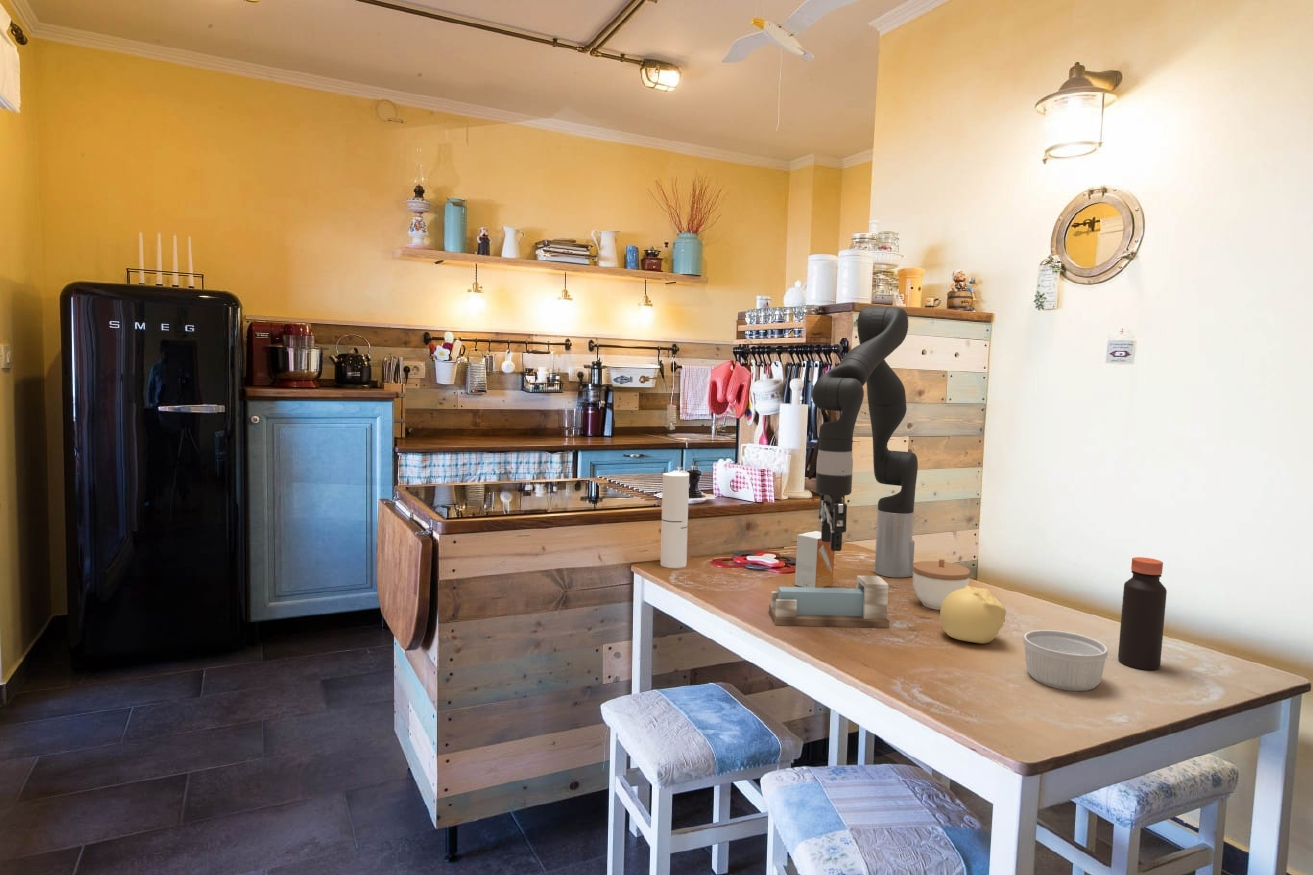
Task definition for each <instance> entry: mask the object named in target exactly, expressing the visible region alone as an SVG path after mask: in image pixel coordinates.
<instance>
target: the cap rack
mask: <svg viewBox="0 0 1313 875" xmlns="http://www.w3.org/2000/svg"><path fill="white" fill-rule="evenodd" d="M889 586H890V585H889V583H887V582H886V581H885V580H884V579H883V578H882V577H881V576H880V575H857V576H856V589H864V606H863V616H831V615H796V613H797V600H792V599H778V590H777V591H776V590H775V591H773V590H772V591H771V597H770V599H771V600H770V604H769V607H768V613H769V615H770V617H771V618H772V621H773V623H774V625H775V626H789V627H790V626H795V627H796V626H798V627H802V626H803V627H832V626H834V627H835V628H836V627H837V628H844V627H845V628H879V629H880V628H882V629H883V628H884V629H889V628H890V620H889V619H888V601H889V600H888V599H889ZM834 627H833V628H834Z"/></svg>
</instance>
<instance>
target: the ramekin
mask: <svg viewBox="0 0 1313 875" xmlns="http://www.w3.org/2000/svg"><path fill="white" fill-rule="evenodd" d="M1022 641H1023V645H1024V654H1025V664H1026V665H1025V666H1026V670H1027V672H1028V674H1029V675H1030V676H1031V678H1033V680H1035V681H1037V682H1039V683H1041V684H1043V685H1045V686H1049V687H1052V688H1055V689H1059V690H1060V689H1061V690H1064V691H1074V692H1086V691H1091V690H1093V689H1095V688H1096V687H1098V686H1099V685H1100V683H1101V681H1102V678H1103V672H1104V667H1105V662H1106V660H1107V658H1108V653H1109V652H1108V647H1107V646H1106V645H1105V644H1104V643H1103V642H1102V641H1099V640H1097V639H1095V638H1092V637H1089V636H1087V635H1083V634H1079V633H1074V632H1069V631H1063V630H1056V629H1037V630H1035V629H1034V630H1030V631H1028V632H1026V633H1024V635H1023V640H1022Z"/></svg>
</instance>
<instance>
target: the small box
mask: <svg viewBox="0 0 1313 875" xmlns="http://www.w3.org/2000/svg"><path fill="white" fill-rule="evenodd" d="M835 552H836V551H832V550H831V549H830V542H823V541H822V540H821V531H819V530H814V531H809V532H804V533H799V534H797V535H796V552H795V553H796V556H795V574H794V575H795V576H794V585H795V586H796V587H809V588H828V587H829V586H833V584H834V571H835V570H834V568H835Z"/></svg>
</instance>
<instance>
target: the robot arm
mask: <svg viewBox="0 0 1313 875" xmlns="http://www.w3.org/2000/svg"><path fill="white" fill-rule="evenodd" d="M857 316H858V317H857V328H856V329H857V336H858V343H859V345H856V346H854V347H853V348H851V349H850V350H849V351H848V352H846V355H844V357H843V358H842V359H841V361H840V362H839V364H838V365H837V366H834V367H833V368H831V369H830V370H828V371H827V372H825V373H823V374H822V375H821V376H820V377H819V378H818V379H817V380H815V383H814V385H813V387H812V391H811V399H812V402H813V404H814V405H815V407H816V408H818V409H819V410H822V411H829V412H830V411H831V412H832V411H833V412H841V414H840V416H839V418H838V419H837V420H835V421H834V420H833V421H827V422H824V423H822V424H821V425H820V426H819V432H818V451H817V457H816V470H815V471H816V473H815V474H816V475H815V492H816V493H817V494H819V508H818V509H819V510H818V519H819V522H820V524H821V530H820V532H821V540H822V541H823V542H830V549H831V550H832V551H835V552H840V551H842V546H843V544H842V543H843V534H844V533H846V532H847V515H848V514H847V511H848V510H847V509H848V505H847V503H844V502H843V496H849V495H851V493H852V490H853V489H852V488H853V486H852V485H853V466H854V465H853V464H854V463H853V462H854V459H853V441H854V440H853V438H854V430H855V425H856V422H857V419H858V415H859V413H860V409H861V407H862V404H863V401H864V396H865V395H864V394H865V392H864V386H865V384H866V395H867V397H866V398H867V405H868V412H869V418H870V425H871V436H872V456H873V458H872V459H873V460H872V463H873V474H874V478H875V480H876V482H877V483H879V484H882V485H888V486H896V487H899V486H900V487H901V489H900V490H899V492H897V493H895V494H893V495H889V496H888V495H887V496H885V497H884V496H883V497H881V498H879V500H878V502H877V516H876V519H877V520H876V537H875V552H874V554H875V555H874V573H876V574H877V575H878V576H884V577H887V578H888V577H889V578H907V577H913V564H914V558H915V540H913V532H914V531H913V530H914V529H913V528H914V511H915V499H916V498H915V496H916V485H917V479H918V466H919V464H918V462H919V461H918V457H917V455H916V453H915V452H912V451H905V450H904V451H901V450H900V451H899V450H889V449H888V443H889V441H890V439H891V437H892V435H893V434H894V432H895V431H896V429H898V428H899V426H900V424H901V423H902V421H903V420H904V419H905V416H906V413H907V409H908V408H907V398H906V397H907V396H906V389H905V386H904V384H903V382H902V380H901V379H900V378H899V377H900V376H898V375H897V374H896V372H895V371H894V370H893V369H892V367H891V366H890V365H889V364H888V363H887V361H886V358H887V357H888V356H890V355H891V354H892V353H893V352H894V351H895V350H897V349H898V348H899V347H900V346H901V345H902V344H903V342H905V339H906V337H907V335H908V331H909V316H908V314H907V311H906V310H905V309H904V308H901V307H897V306H865V307H863V308H862V309H861V310H860V311H859V314H858V315H857Z"/></svg>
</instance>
